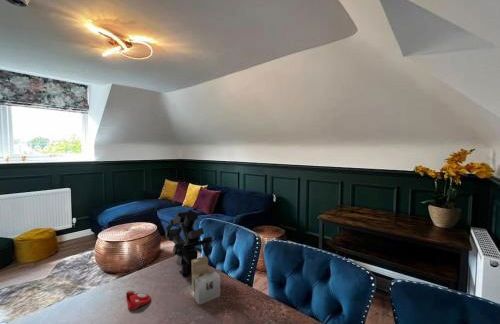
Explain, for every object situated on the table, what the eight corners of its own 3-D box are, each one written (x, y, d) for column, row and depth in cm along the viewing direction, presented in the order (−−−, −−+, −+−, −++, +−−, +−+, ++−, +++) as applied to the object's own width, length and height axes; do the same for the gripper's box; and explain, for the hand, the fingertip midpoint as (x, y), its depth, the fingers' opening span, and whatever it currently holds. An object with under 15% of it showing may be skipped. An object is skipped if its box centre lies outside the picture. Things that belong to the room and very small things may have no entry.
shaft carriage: (191, 287, 107) (191, 260, 106) (205, 282, 111) (205, 256, 110) (199, 297, 100) (198, 267, 99) (213, 291, 104) (213, 263, 103)
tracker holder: (155, 293, 103) (145, 302, 93) (152, 303, 102) (142, 314, 93) (128, 286, 103) (116, 295, 94) (125, 297, 103) (113, 306, 93)
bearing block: (186, 287, 109) (186, 267, 108) (206, 280, 114) (206, 262, 114) (198, 305, 97) (198, 282, 96) (220, 296, 102) (220, 275, 102)
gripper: (173, 226, 108) (182, 257, 99) (210, 219, 119) (221, 247, 109) (169, 239, 114) (177, 270, 105) (204, 232, 125) (214, 259, 116)
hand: (198, 261), depth 109 cm, fingers open, 9 cm apart
